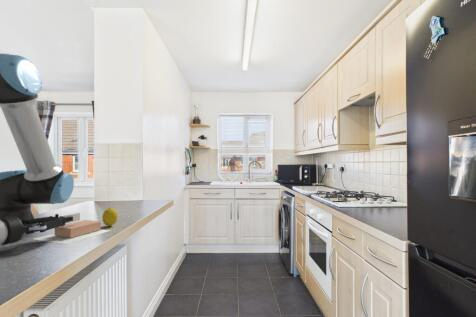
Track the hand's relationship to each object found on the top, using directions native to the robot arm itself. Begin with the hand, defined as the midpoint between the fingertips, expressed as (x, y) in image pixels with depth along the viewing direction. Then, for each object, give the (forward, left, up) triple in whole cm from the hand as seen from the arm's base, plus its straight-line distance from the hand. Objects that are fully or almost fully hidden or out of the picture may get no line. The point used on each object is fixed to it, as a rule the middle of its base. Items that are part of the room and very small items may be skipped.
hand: (78, 216), depth 93 cm
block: (0, -6, -4) cm, 7 cm away
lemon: (+2, +12, -7) cm, 14 cm away
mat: (0, -2, -7) cm, 7 cm away
